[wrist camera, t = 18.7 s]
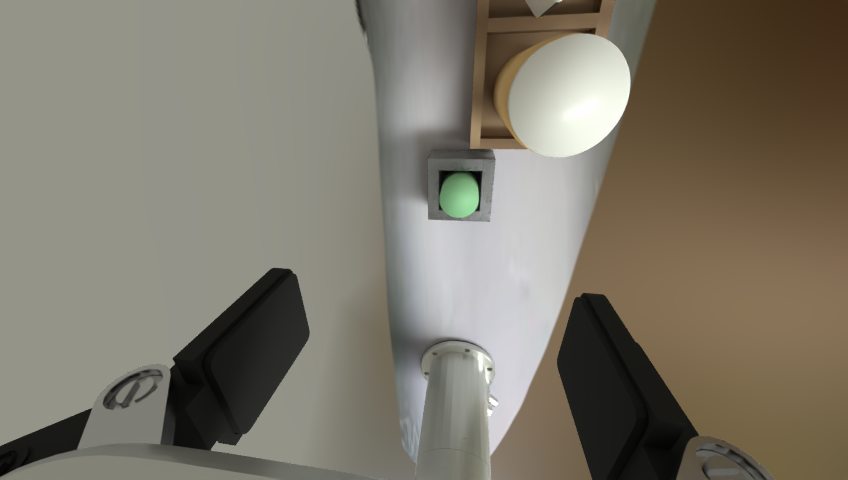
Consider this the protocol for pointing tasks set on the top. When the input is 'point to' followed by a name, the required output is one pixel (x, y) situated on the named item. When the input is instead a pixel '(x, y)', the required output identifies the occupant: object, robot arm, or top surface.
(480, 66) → the wooden tray
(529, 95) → the bottle
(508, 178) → the top surface
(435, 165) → the button pedestal
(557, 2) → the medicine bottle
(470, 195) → the button
